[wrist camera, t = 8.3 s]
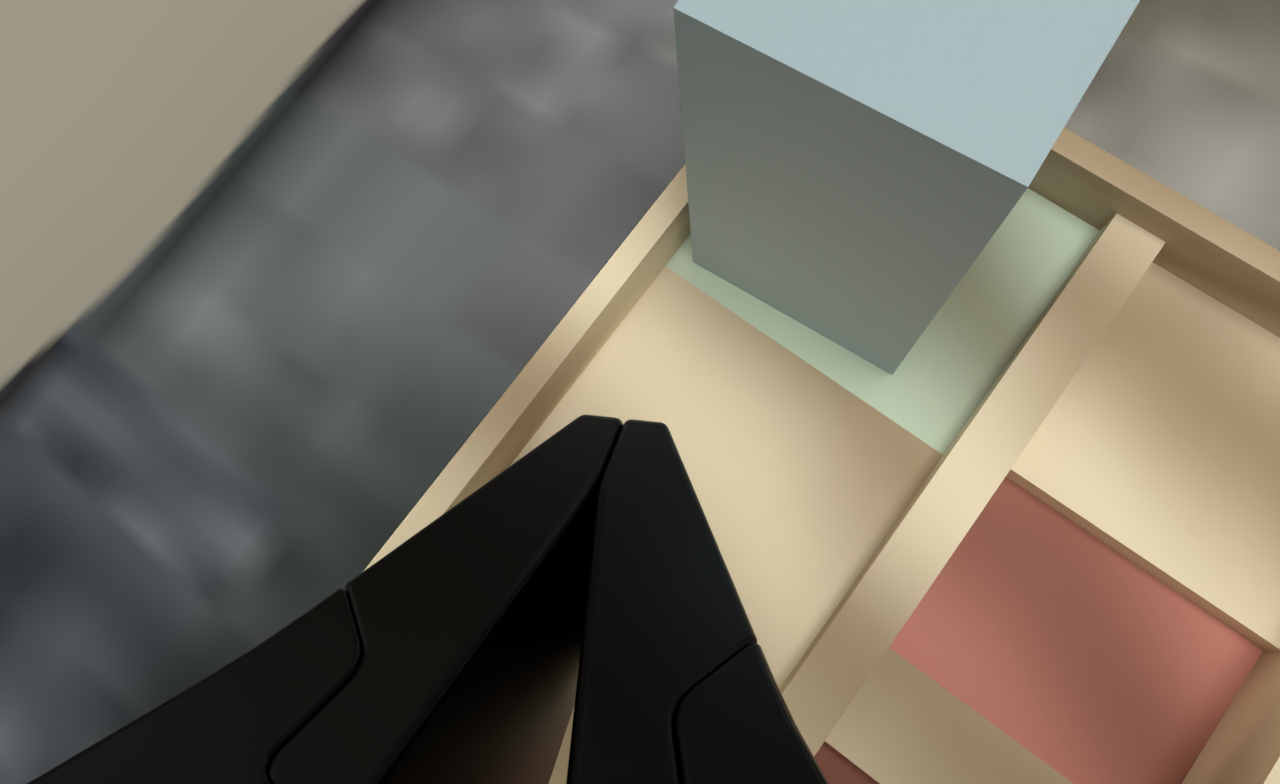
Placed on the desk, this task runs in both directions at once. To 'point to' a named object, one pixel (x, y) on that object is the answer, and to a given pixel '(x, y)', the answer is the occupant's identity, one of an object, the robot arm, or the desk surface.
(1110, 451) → the wooden divided tray
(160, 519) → the desk surface
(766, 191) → the block
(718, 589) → the robot arm
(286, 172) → the desk surface
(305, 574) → the desk surface
